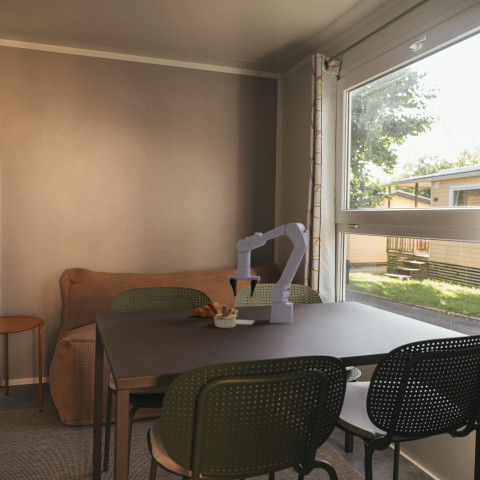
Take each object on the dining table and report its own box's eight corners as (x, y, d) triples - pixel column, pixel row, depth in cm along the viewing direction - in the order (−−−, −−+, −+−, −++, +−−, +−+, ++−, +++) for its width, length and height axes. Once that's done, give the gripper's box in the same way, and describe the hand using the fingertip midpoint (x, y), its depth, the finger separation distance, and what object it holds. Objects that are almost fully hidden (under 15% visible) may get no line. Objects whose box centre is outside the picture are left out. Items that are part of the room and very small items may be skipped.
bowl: (237, 324, 190) (237, 316, 190) (232, 329, 182) (232, 320, 182) (217, 323, 192) (218, 315, 192) (212, 327, 184) (212, 319, 184)
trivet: (255, 321, 197) (255, 320, 197) (251, 325, 189) (251, 324, 189) (234, 320, 199) (234, 319, 199) (230, 324, 191) (230, 323, 191)
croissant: (235, 321, 213) (234, 305, 217) (241, 315, 204) (239, 298, 208) (191, 322, 207) (190, 305, 211) (195, 316, 199) (194, 298, 202)
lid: (236, 316, 190) (237, 305, 190) (232, 320, 182) (232, 308, 182) (218, 315, 192) (218, 304, 192) (213, 319, 184) (213, 307, 184)
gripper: (261, 265, 205) (260, 295, 206) (230, 264, 208) (229, 294, 209) (258, 267, 199) (258, 297, 199) (226, 266, 202) (226, 296, 202)
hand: (243, 296), depth 204 cm, fingers open, 7 cm apart
